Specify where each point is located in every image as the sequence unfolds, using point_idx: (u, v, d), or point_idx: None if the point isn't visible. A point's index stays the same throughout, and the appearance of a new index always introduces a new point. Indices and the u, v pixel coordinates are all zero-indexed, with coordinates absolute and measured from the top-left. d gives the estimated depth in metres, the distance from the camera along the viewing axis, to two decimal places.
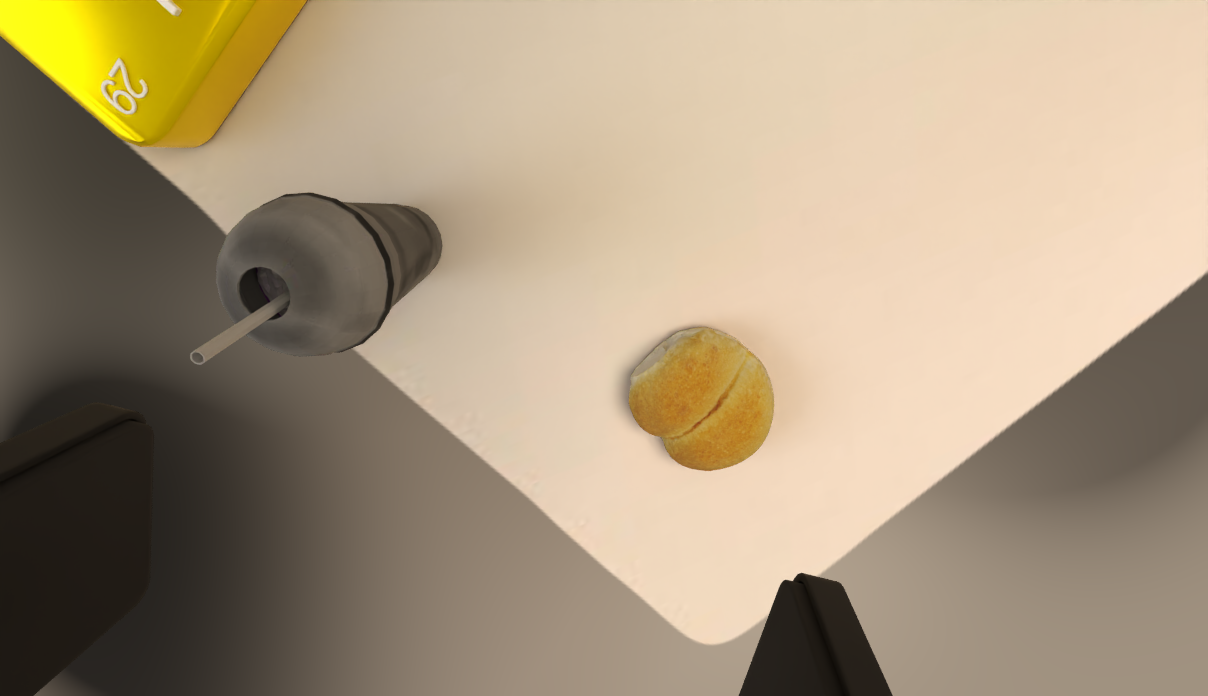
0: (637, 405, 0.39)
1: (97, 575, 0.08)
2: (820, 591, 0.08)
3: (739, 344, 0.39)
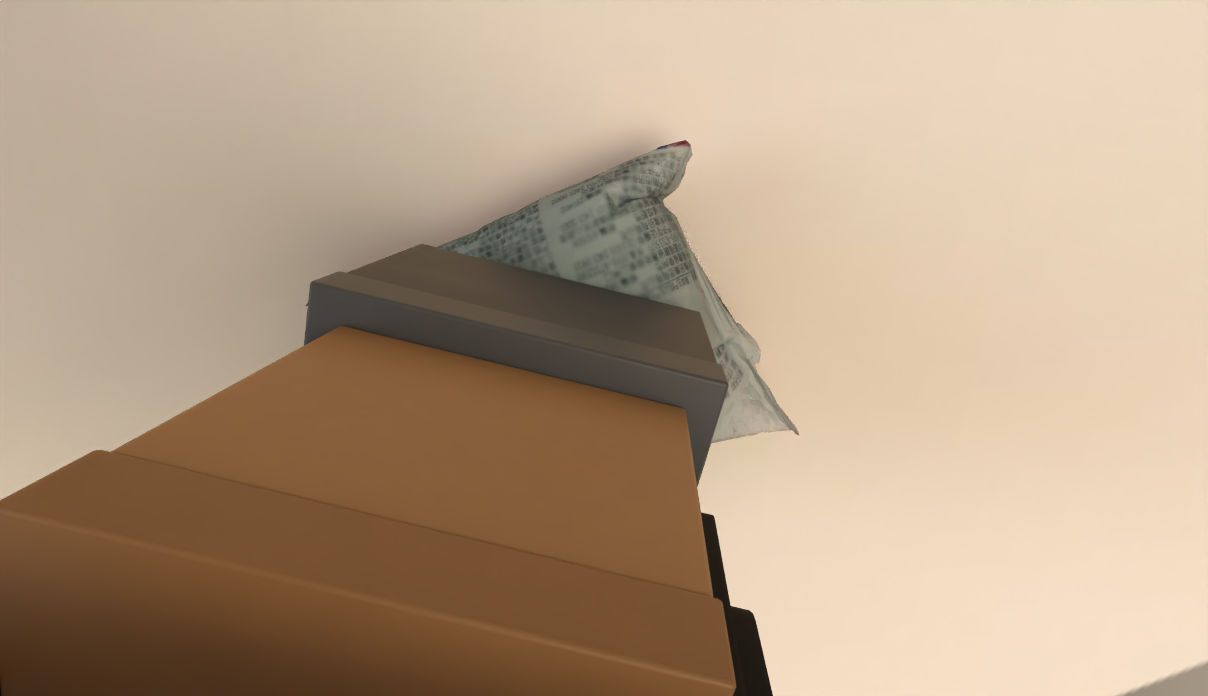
0: None
1: None
2: None
3: None
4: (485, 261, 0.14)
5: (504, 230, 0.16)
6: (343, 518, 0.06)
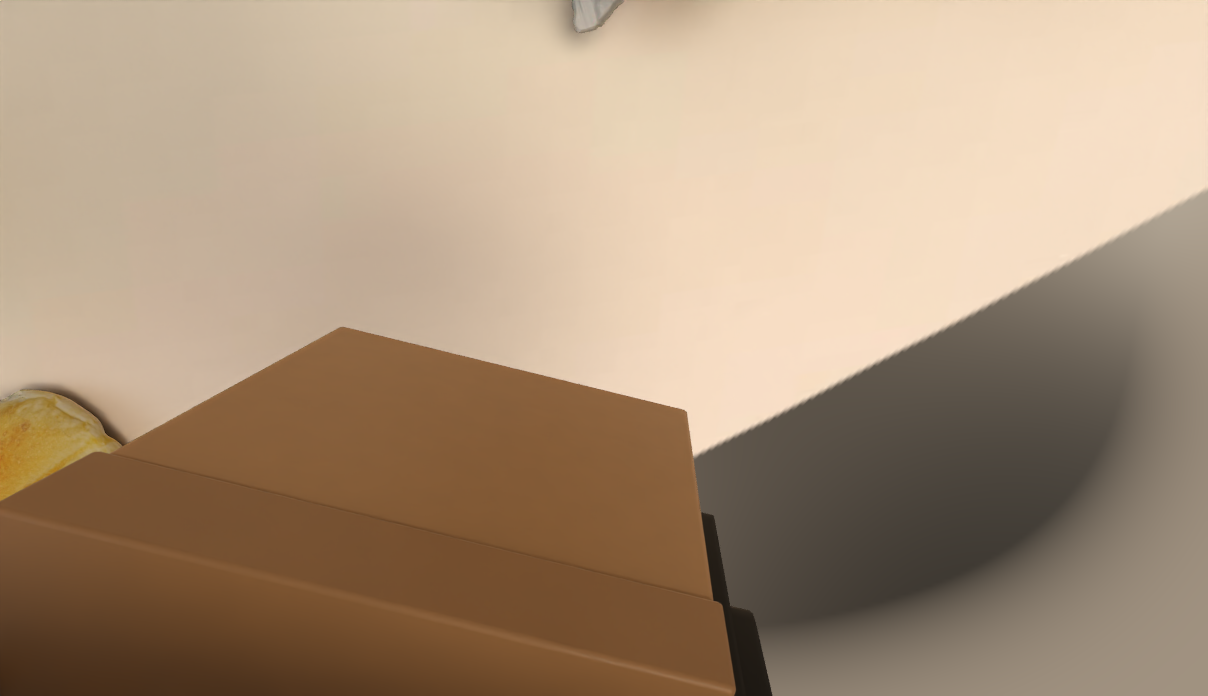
0: None
1: None
2: None
3: (85, 425, 0.30)
4: None
5: None
6: (342, 520, 0.06)
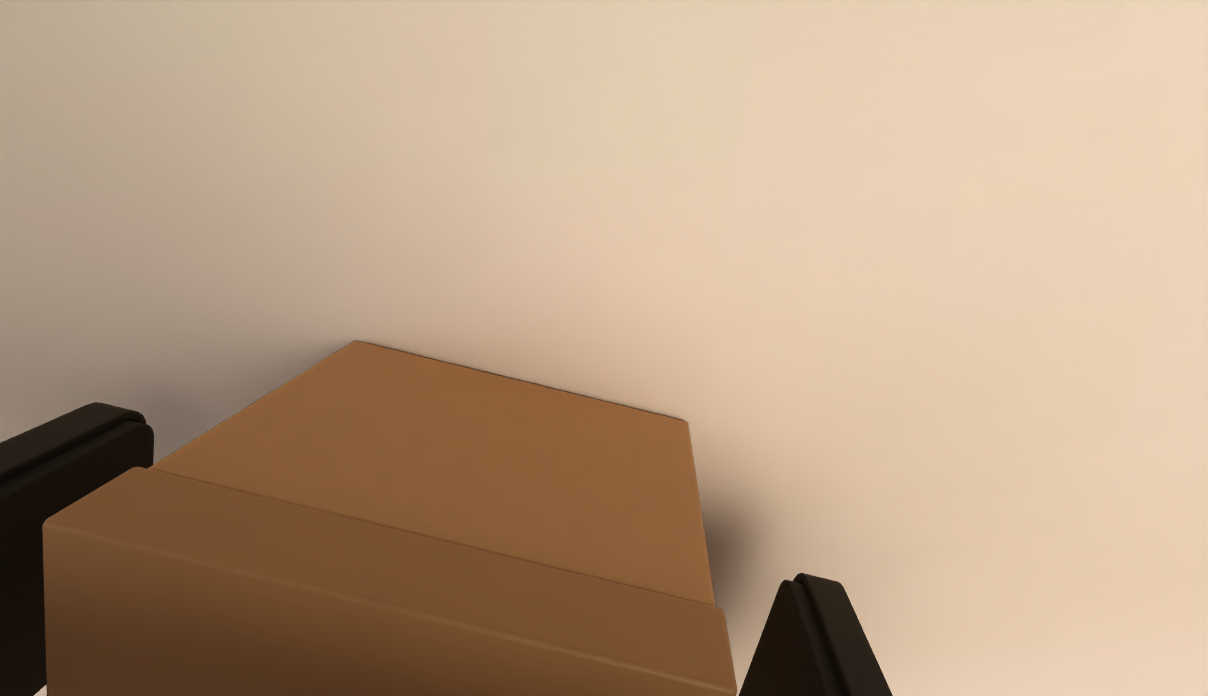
0: None
1: None
2: (820, 591, 0.08)
3: None
4: None
5: None
6: (367, 532, 0.06)
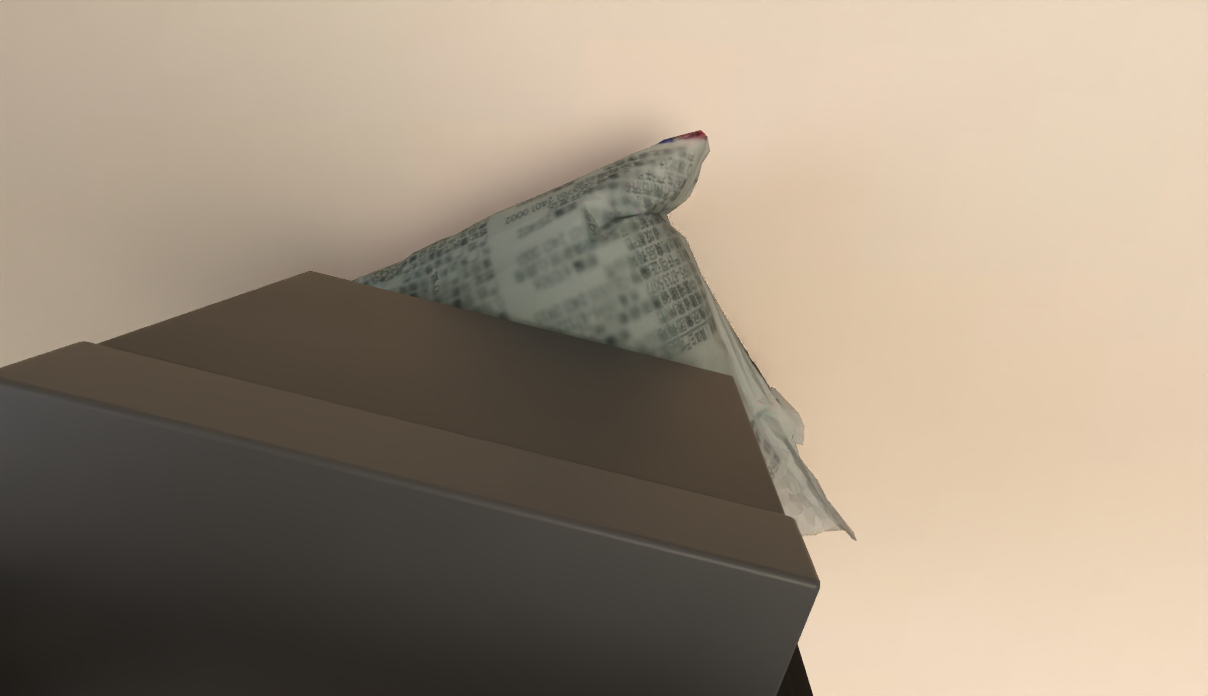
0: None
1: None
2: None
3: None
4: (405, 298, 0.09)
5: (438, 261, 0.11)
6: None
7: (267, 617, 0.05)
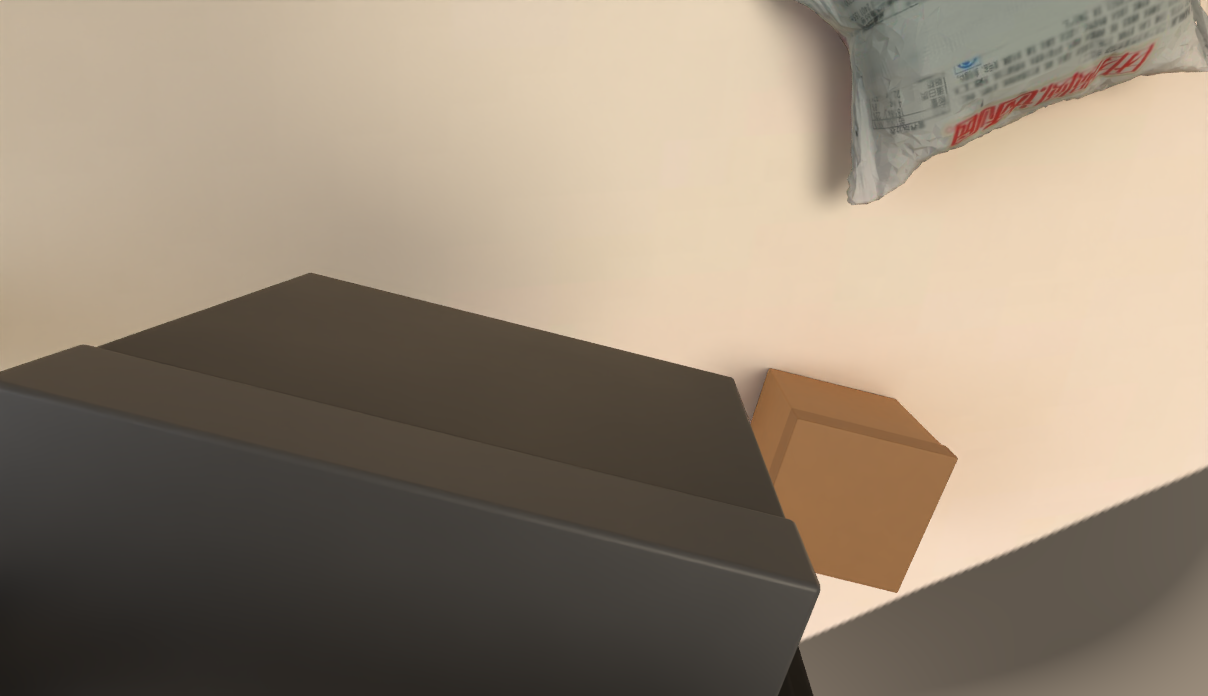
0: None
1: None
2: None
3: None
4: (405, 300, 0.09)
5: None
6: (855, 424, 0.23)
7: (267, 621, 0.05)
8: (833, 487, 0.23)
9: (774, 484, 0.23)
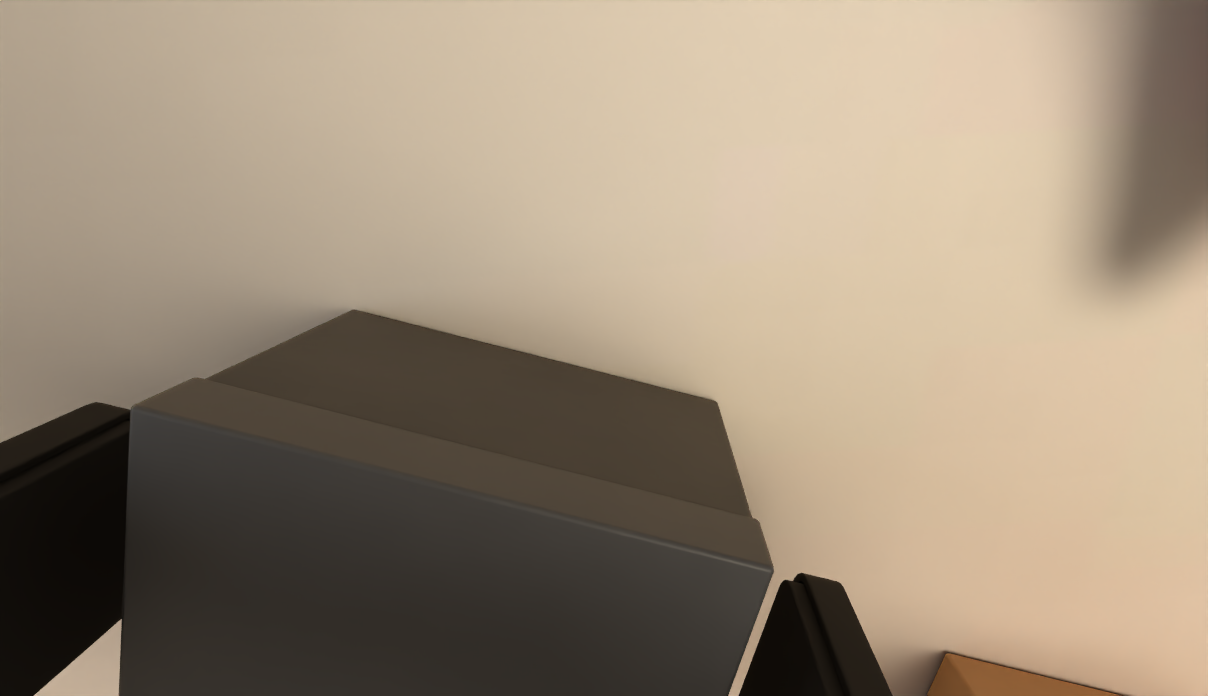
0: None
1: (96, 575, 0.08)
2: (820, 591, 0.08)
3: None
4: (435, 334, 0.11)
5: None
6: None
7: (343, 596, 0.07)
8: None
9: None
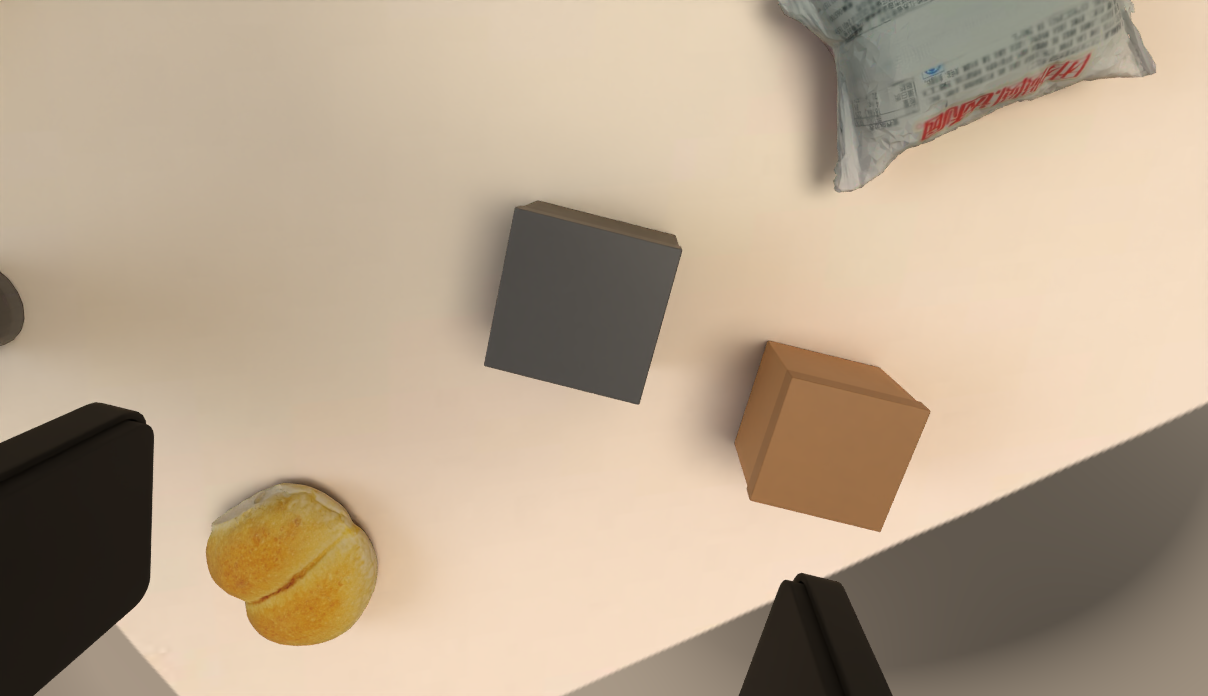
0: (207, 557, 0.33)
1: (97, 575, 0.08)
2: (820, 591, 0.08)
3: (340, 517, 0.34)
4: (569, 209, 0.29)
5: None
6: (842, 383, 0.26)
7: (566, 262, 0.25)
8: (823, 438, 0.26)
9: (772, 435, 0.26)
